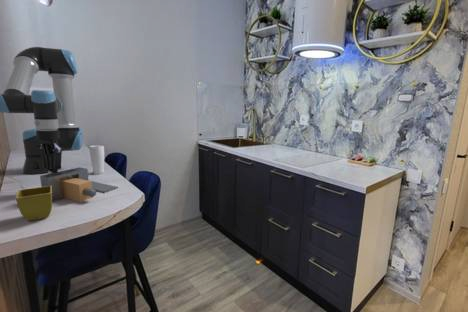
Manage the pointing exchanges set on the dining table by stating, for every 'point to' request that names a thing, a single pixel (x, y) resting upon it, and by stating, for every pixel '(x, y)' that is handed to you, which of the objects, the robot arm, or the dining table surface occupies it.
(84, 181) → the plug
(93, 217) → the dining table surface
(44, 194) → the flower pot
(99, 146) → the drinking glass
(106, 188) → the mat
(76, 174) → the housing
